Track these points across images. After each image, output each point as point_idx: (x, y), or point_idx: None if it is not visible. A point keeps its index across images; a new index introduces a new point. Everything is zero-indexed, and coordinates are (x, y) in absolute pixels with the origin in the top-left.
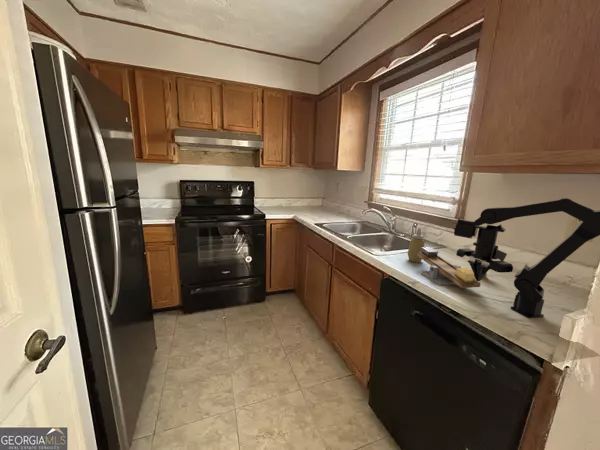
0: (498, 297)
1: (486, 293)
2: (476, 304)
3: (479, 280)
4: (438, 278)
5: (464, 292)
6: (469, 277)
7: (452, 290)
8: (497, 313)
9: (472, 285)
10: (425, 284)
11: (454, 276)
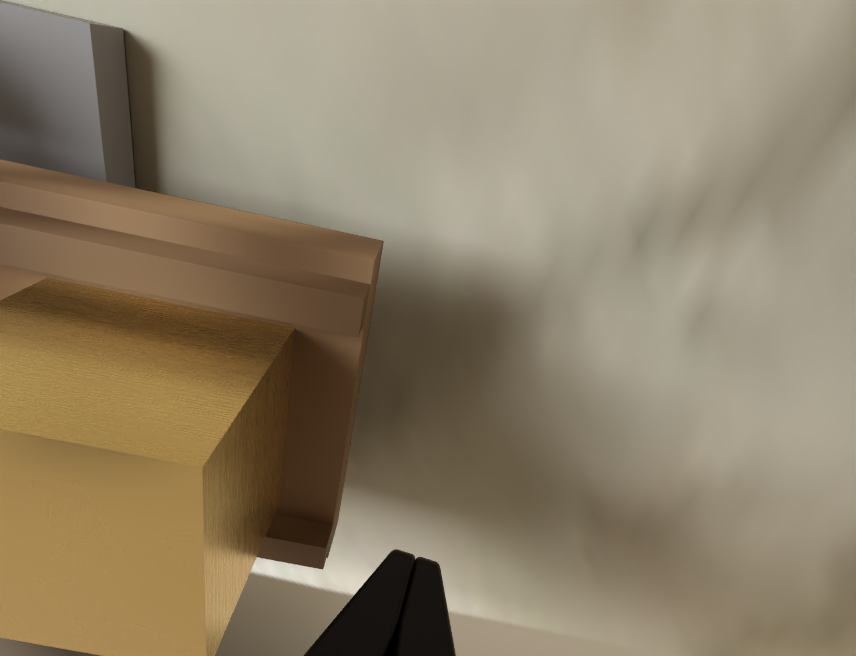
0: (662, 60)
1: (475, 112)
2: (591, 556)
3: (435, 591)
4: None
5: None
6: (240, 533)
7: None
8: (823, 577)
9: (351, 411)
10: None
11: None
